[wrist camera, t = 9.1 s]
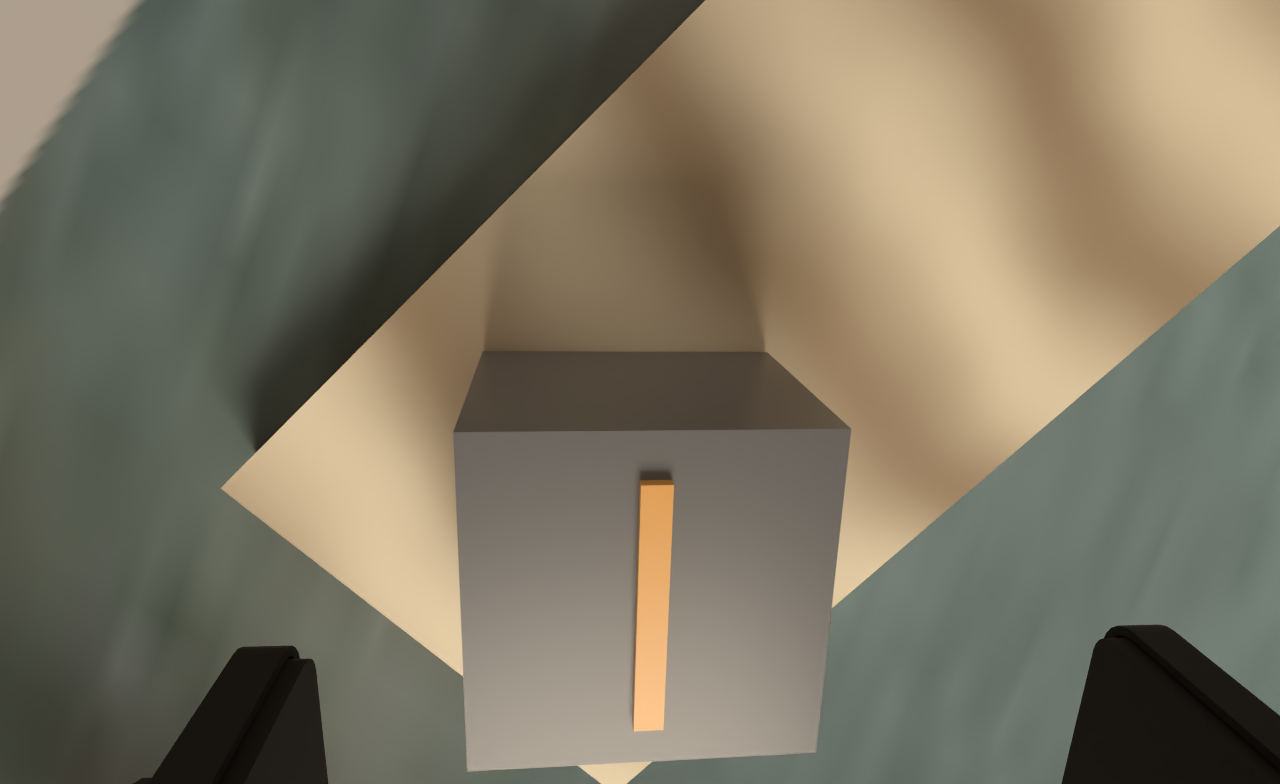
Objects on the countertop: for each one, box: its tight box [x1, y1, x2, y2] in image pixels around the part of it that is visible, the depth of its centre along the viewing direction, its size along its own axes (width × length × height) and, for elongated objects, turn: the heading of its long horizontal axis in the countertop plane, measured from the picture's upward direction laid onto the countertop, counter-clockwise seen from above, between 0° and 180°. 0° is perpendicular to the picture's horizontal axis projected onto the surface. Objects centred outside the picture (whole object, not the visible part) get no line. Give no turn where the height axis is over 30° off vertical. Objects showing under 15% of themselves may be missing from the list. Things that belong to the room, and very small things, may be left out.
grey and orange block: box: [453, 351, 851, 771], centre depth 15 cm, size 6×6×5 cm
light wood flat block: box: [221, 0, 1280, 784], centre depth 16 cm, size 24×12×6 cm, turn 133°
